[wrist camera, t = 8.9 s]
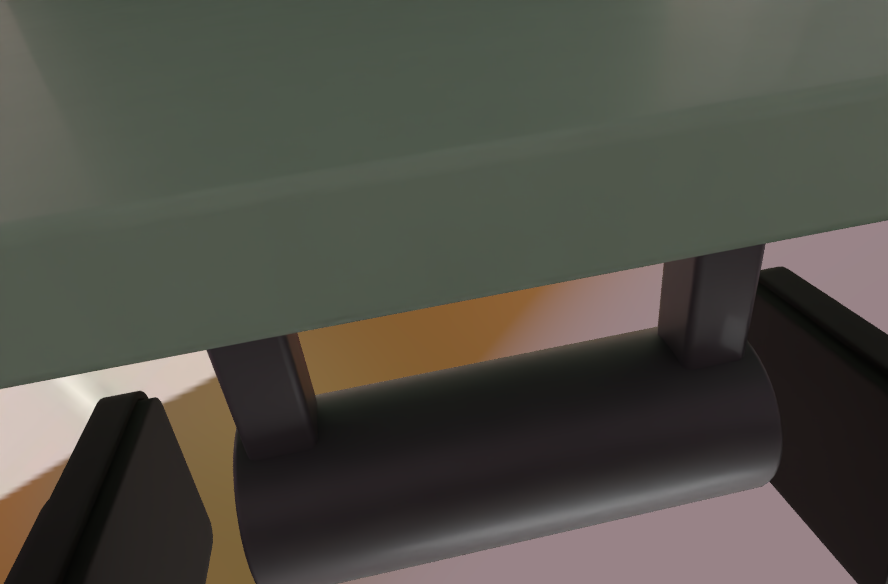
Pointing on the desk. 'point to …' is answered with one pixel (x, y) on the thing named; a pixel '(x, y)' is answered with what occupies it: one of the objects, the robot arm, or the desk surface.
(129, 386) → the desk surface
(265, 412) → the chest lid
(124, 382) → the desk surface
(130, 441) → the robot arm
